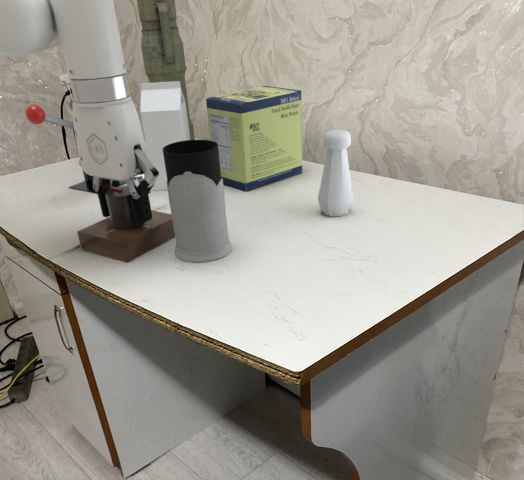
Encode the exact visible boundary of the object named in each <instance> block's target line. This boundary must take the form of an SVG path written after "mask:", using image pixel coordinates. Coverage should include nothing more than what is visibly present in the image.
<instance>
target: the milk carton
mask: <svg viewBox="0 0 524 480" xmlns="http://www.w3.org/2000/svg"><path fill="white" fill-rule="evenodd" d="M139 85H140V86H139V87H140V106H139V109H140V110H139V113H140V118H141V125H142V131H143V135H144V140H145V144H146V149H147V154H148V159H149V161H150V162H151V163H152V164H153V165H154V167H155V168H156V169H157V170H158V172H159V176H158V178H157V179H156V181H155V182H154V186H153V187H152V188H153V191H155V192H156V191H168V189H167V183H166V181H167V175H166V168H165V162H164V155H163V147H165V146H166V145H169V144H172V143H175V142H180V141H186V140H190V133H189V125H188V117H187V109H186V102H185V99H184V96H183V93H182V90H181V86H180V81H173V82H156V83H149V82H141V83H139Z"/></svg>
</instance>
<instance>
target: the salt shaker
mask: <svg viewBox="0 0 524 480" xmlns="http://www.w3.org/2000/svg"><path fill="white" fill-rule="evenodd" d="M351 137H352V136H351V133H350V132H349V131H348V130H346V129H331V130H327V131H325V133H324V134H323V139H322V140H323V141H322V142H323V147H324V148H326V153H325V159H324V165H323V170H322V174H321V175H322V176H321V181H320V186H319V192H318V196H317V201H318V205H319V207H320V209H321V212H322V214H324V215H326V214H327V215H326V216H328V215H329V216H328V217H342V216H344V215H346V214H348V213H347V212H349V211H350V208H351V206H352V204H353V200H354V196H353V195H354V194H353V189H352V179H351V172H350V164H349V156H348V149H347V148H349V147H350V146H351V143H352V138H351ZM345 213H346V214H345ZM343 214H344V215H343ZM341 215H342V216H341Z"/></svg>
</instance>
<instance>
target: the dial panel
mask: <svg viewBox="0 0 524 480" xmlns="http://www.w3.org/2000/svg"><path fill="white" fill-rule="evenodd" d="M151 212H152V219H151V220H149V221H147V222H145V223H143V224H142V225H140V226H137V227H134V228H130V229H117V228H114V227H113V226H112V223H111V219H110V216H109V217H105V218H104V219H102V220H100V221H98V222H95V223H93V224H91V225H88V226H86V227H84V228H82V229H79V230H77V231H76V234H77V236H78V240H79V244H80V248H81V250H82V251H85V252H89V253H93V254H96V255H101V256H104V257H107V258H111V259H115V260H118V261H122V262H124V263H125V262H126V263H128V262H131V261H133V260H134V259H136V258H138V257H140V256H142V255H143V254H145V253H148V252H150V251H151V250H152V249H154V248H156V247H158V246H160V245H161V244H164V243H165V242H166V243H167V241H170V240H171V239H174V238H175V234H174V228H173V221H172V215H171V213H167V212H162V211H157V210H152V209H151Z"/></svg>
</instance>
